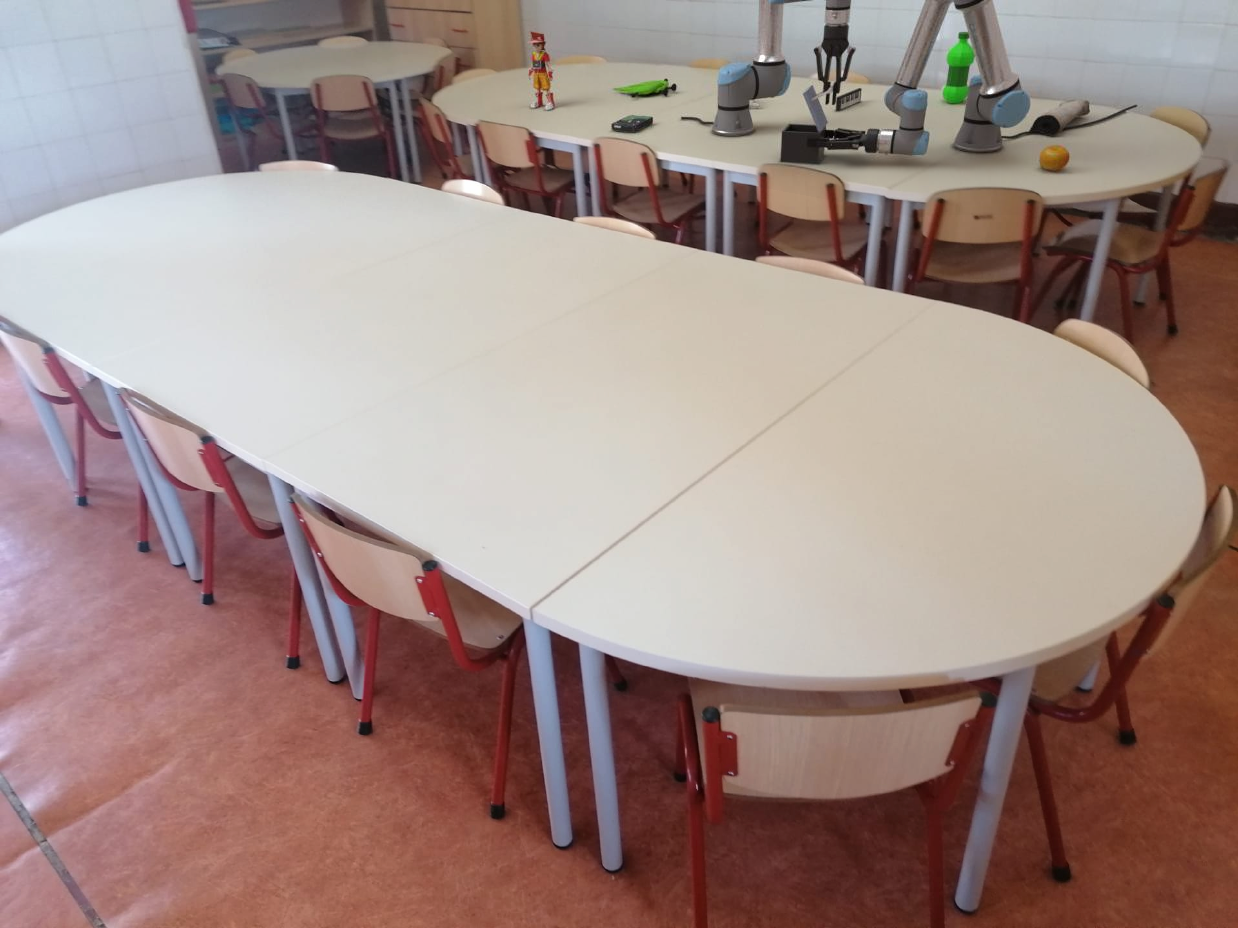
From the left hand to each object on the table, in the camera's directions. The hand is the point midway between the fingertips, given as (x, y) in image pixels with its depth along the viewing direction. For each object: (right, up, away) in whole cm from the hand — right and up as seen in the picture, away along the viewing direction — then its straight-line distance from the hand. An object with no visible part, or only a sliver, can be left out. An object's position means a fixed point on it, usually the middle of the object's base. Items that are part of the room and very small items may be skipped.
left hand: (830, 103), depth 291 cm
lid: (-5, -1, +3) cm, 6 cm away
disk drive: (-64, +14, +57) cm, 87 cm away
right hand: (-5, -8, +8) cm, 12 cm away
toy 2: (-59, +48, +106) cm, 130 cm away
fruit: (+67, -25, -10) cm, 72 cm away
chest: (-6, -13, +13) cm, 20 cm away
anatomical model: (-17, +30, +77) cm, 84 cm away
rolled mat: (+89, +4, +29) cm, 94 cm away
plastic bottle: (+64, +26, +64) cm, 94 cm away
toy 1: (-101, +35, +92) cm, 141 cm away
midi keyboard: (+23, +26, +67) cm, 76 cm away
